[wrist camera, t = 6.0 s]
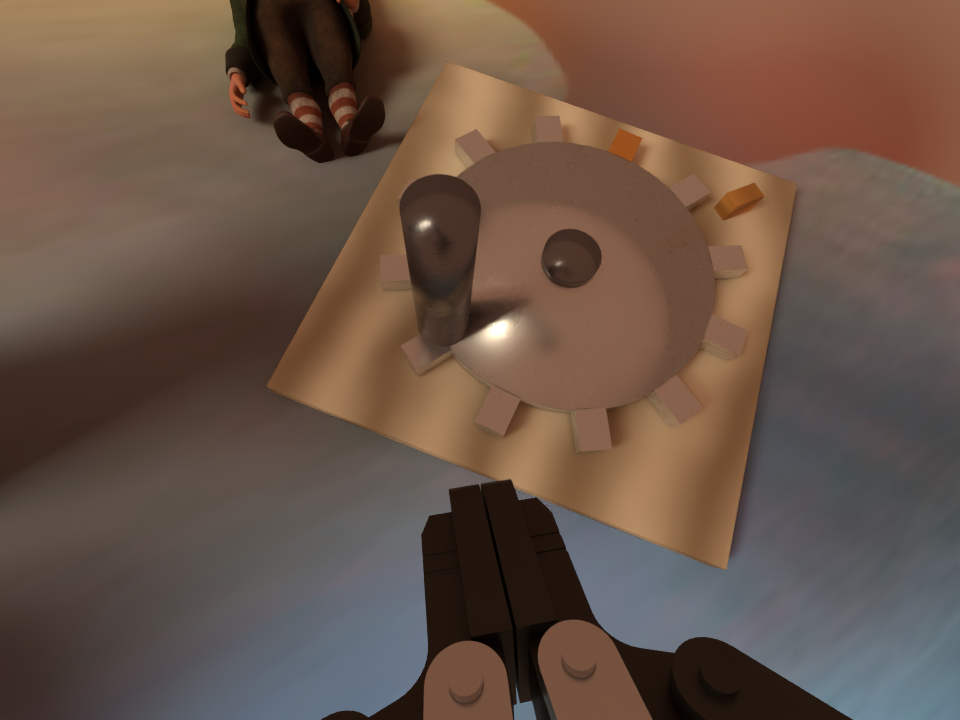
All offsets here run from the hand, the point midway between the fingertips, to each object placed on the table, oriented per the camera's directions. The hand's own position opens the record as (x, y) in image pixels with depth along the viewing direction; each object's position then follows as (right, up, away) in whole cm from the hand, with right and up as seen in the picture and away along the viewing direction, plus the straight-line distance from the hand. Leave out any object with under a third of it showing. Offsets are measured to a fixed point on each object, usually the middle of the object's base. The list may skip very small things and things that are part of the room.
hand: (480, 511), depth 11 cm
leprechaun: (-15, +29, +27) cm, 42 cm away
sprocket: (+6, +9, +19) cm, 22 cm away
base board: (+5, +9, +21) cm, 23 cm away
